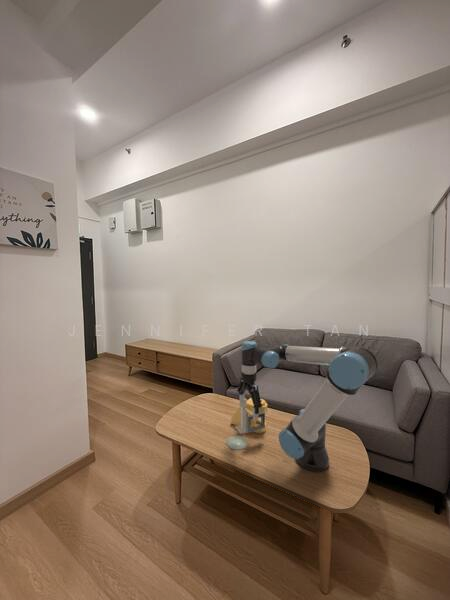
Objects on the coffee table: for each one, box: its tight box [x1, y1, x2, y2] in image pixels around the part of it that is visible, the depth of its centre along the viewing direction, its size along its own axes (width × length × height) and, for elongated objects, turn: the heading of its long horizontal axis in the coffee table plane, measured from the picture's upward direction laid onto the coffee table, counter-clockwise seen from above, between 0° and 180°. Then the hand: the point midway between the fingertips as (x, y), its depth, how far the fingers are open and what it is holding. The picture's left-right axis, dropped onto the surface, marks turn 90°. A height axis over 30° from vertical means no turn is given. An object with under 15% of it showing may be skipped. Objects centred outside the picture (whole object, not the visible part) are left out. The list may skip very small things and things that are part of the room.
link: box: [247, 412, 266, 433], centre depth 128 cm, size 2×10×8 cm, turn 115°
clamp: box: [230, 397, 268, 434], centre depth 144 cm, size 20×9×16 cm, turn 57°
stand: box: [234, 397, 260, 435], centre depth 134 cm, size 20×7×18 cm, turn 25°
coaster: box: [226, 434, 249, 451], centre depth 128 cm, size 11×11×1 cm
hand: (248, 412), depth 126 cm, fingers open, 13 cm apart
